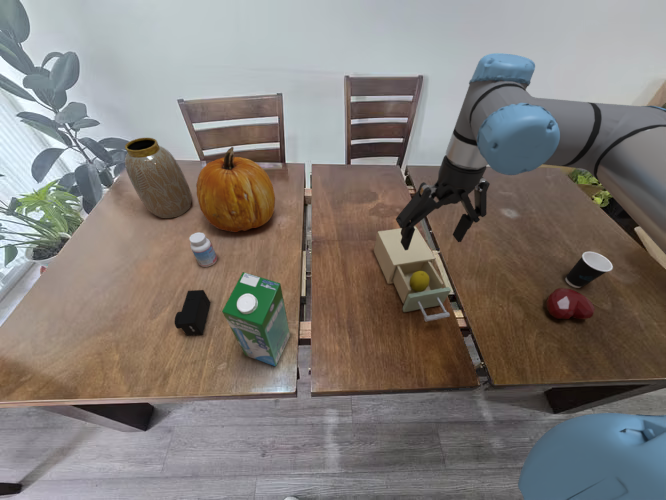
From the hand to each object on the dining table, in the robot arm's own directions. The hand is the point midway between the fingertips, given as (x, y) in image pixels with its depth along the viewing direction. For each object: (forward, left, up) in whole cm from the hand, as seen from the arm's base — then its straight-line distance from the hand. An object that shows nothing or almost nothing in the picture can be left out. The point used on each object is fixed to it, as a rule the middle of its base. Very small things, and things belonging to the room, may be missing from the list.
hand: (430, 242), depth 65 cm
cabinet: (+15, -4, -27) cm, 31 cm away
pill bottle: (+29, +60, -27) cm, 72 cm away
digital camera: (+7, +61, -27) cm, 67 cm away
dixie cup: (-4, -59, -27) cm, 65 cm away
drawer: (0, -4, -26) cm, 26 cm away
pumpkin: (+48, +48, -27) cm, 73 cm away
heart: (-12, -46, -27) cm, 55 cm away
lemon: (+3, -4, -25) cm, 25 cm away
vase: (+61, +76, -27) cm, 101 cm away
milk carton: (-5, +42, -27) cm, 50 cm away
